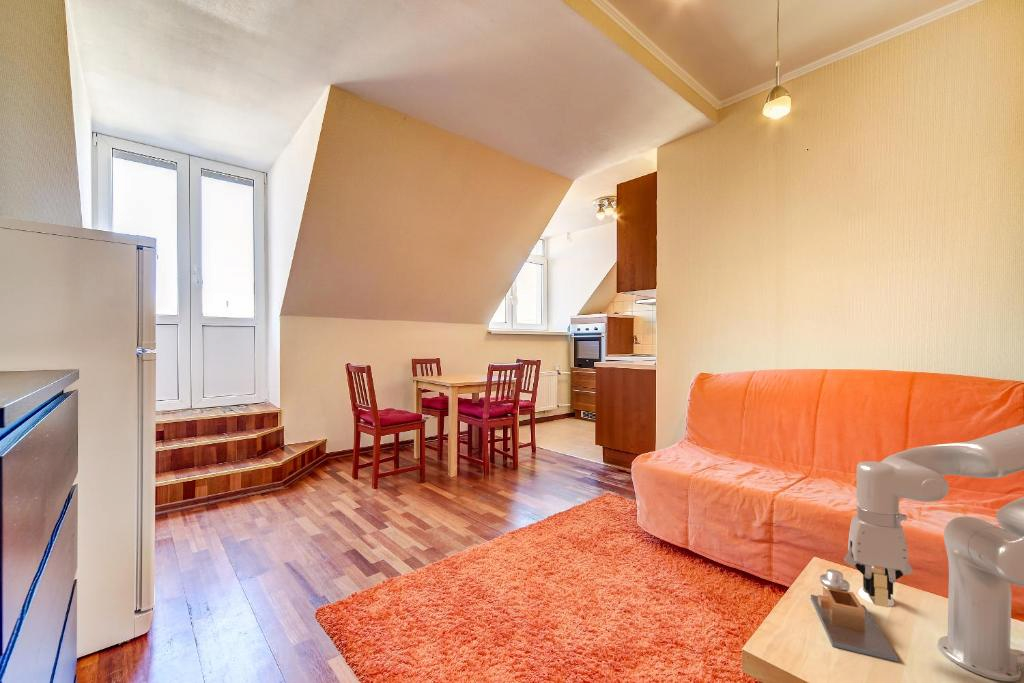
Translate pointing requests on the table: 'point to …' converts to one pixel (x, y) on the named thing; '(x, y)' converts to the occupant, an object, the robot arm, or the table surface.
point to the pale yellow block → (879, 588)
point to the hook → (866, 597)
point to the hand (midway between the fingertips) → (877, 594)
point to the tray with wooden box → (849, 619)
